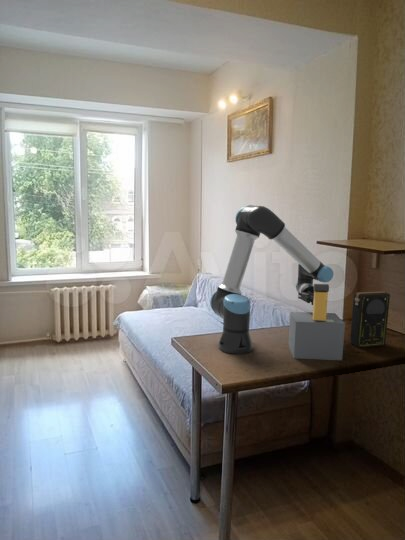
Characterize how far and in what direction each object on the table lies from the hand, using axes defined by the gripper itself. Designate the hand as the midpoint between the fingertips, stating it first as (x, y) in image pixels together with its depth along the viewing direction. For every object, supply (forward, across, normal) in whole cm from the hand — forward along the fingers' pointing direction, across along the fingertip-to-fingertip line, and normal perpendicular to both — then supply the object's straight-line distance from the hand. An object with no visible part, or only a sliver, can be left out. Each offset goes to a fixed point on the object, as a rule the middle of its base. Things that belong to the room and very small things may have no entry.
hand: (319, 304), depth 179 cm
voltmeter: (-17, -27, -23) cm, 39 cm away
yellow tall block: (+2, 0, -6) cm, 6 cm away
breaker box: (-3, 0, -22) cm, 23 cm away
